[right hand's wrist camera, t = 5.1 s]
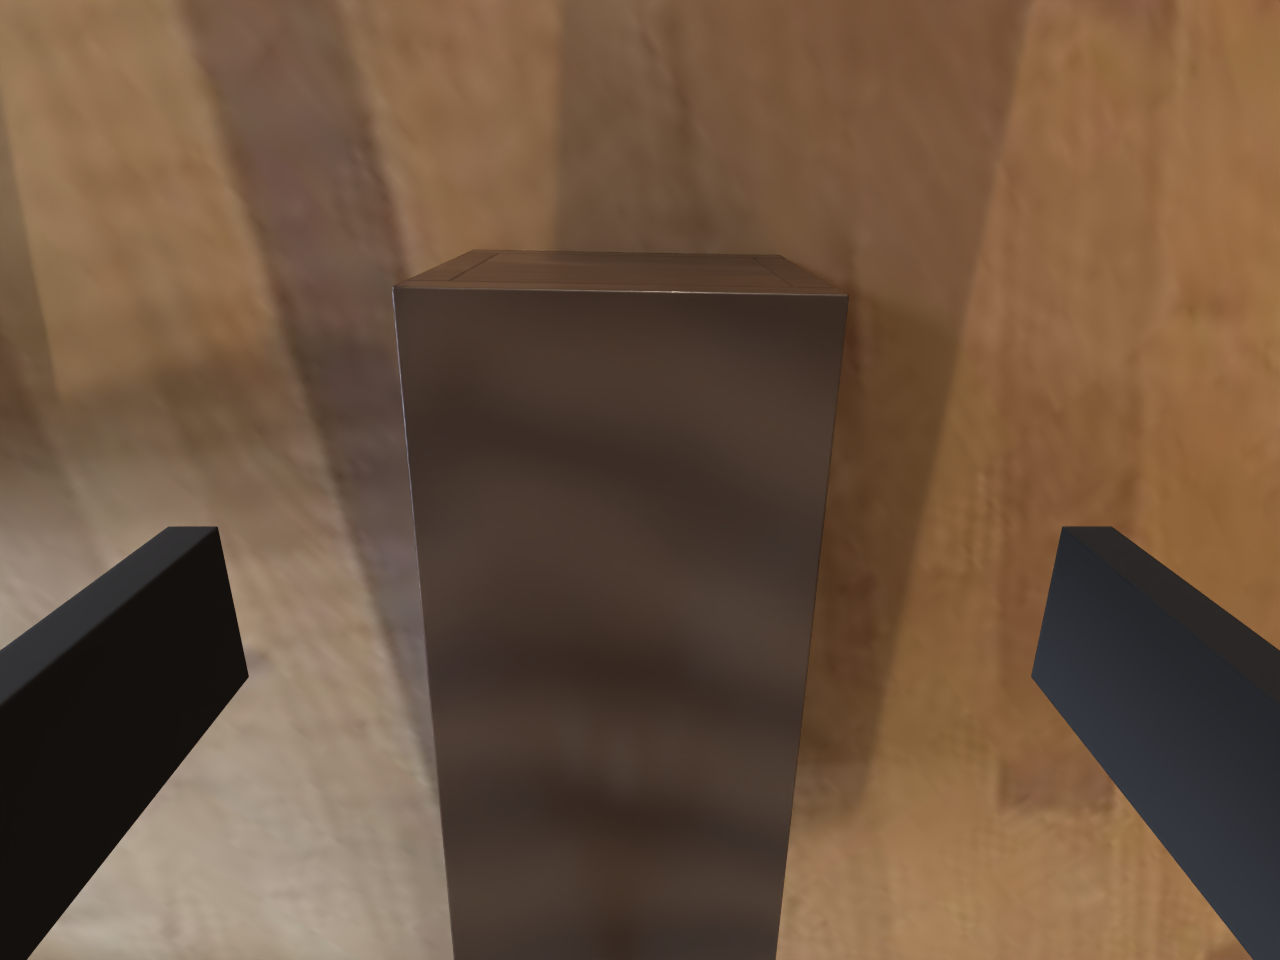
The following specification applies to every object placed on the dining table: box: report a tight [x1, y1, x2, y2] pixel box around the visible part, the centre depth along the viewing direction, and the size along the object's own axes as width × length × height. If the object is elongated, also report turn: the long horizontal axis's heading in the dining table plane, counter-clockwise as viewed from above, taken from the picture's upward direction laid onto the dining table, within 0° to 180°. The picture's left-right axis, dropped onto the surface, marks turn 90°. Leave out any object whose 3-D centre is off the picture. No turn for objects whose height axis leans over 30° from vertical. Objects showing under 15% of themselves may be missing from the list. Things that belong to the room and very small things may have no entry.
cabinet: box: [392, 250, 849, 960], centre depth 26 cm, size 21×10×9 cm, turn 179°
